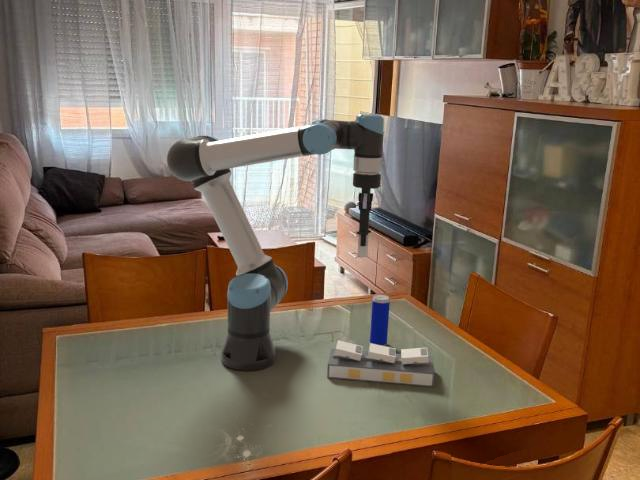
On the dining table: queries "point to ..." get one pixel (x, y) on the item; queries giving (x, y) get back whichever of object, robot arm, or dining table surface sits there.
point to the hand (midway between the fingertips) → (362, 256)
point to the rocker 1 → (348, 350)
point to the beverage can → (379, 320)
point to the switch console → (380, 370)
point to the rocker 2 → (382, 353)
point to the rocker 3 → (414, 356)
